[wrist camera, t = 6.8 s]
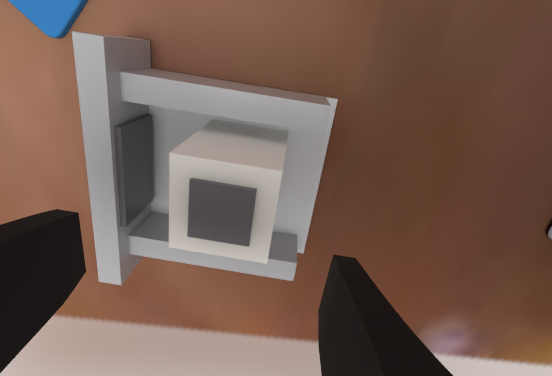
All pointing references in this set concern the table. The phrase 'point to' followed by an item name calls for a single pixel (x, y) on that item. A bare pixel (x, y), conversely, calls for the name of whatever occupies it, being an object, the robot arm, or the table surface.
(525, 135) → the table surface
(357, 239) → the table surface
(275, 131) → the block
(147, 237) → the dock
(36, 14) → the handheld gaming device
